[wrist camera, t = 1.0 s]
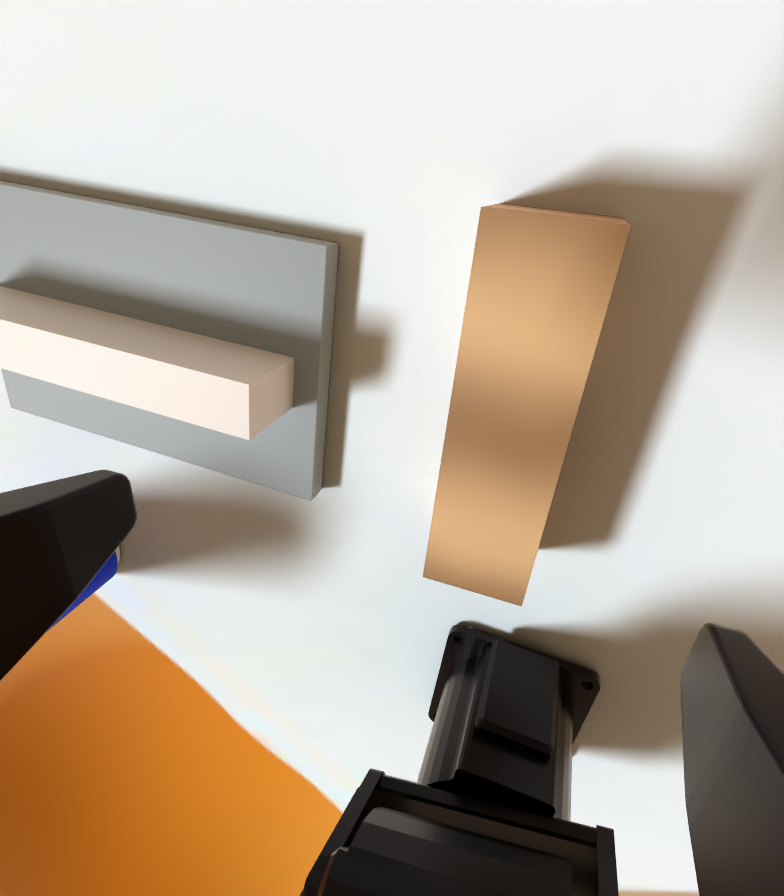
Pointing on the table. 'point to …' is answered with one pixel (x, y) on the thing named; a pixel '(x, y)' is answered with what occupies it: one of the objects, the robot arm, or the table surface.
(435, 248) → the table surface
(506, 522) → the oak bar
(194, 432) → the stand
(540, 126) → the table surface
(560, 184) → the table surface
